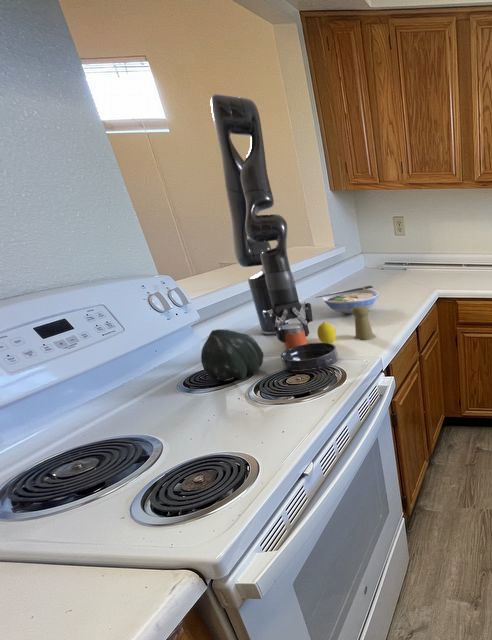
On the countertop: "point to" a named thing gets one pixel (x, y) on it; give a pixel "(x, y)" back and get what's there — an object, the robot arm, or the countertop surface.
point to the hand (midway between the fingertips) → (294, 338)
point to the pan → (309, 357)
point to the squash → (230, 355)
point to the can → (293, 335)
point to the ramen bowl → (351, 299)
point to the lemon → (326, 333)
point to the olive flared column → (362, 323)
